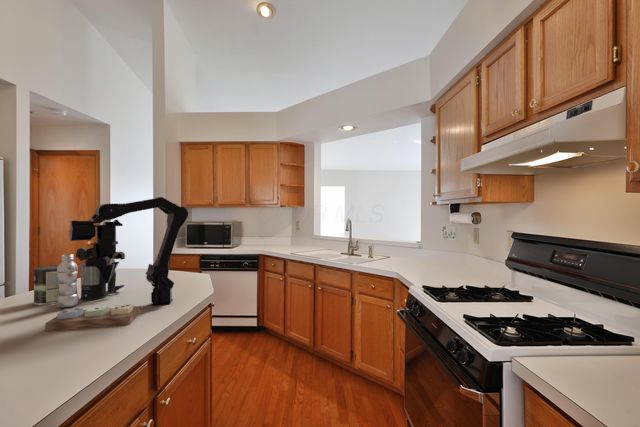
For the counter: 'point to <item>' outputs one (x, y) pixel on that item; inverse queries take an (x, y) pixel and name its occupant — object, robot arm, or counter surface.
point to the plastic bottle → (67, 282)
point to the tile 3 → (122, 309)
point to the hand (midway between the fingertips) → (106, 283)
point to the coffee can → (46, 285)
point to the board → (93, 320)
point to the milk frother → (95, 283)
